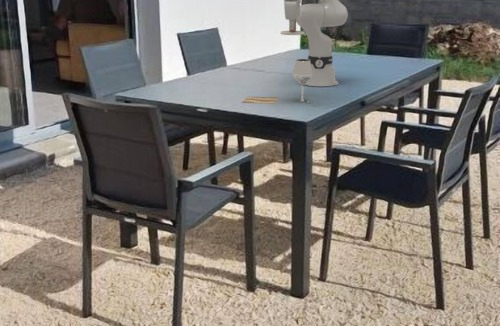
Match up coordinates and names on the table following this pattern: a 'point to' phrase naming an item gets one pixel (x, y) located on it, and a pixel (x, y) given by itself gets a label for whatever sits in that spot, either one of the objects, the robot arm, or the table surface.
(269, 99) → the mat
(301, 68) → the wineglass
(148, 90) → the table surface
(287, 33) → the lid
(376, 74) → the table surface
